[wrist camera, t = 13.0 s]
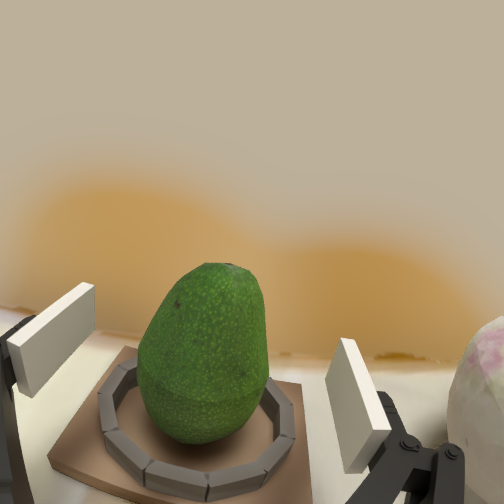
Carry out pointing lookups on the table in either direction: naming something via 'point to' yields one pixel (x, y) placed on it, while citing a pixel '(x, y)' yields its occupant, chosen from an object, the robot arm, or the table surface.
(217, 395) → the avocado
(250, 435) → the ring stand
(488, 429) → the ceramic pitcher
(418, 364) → the table surface
